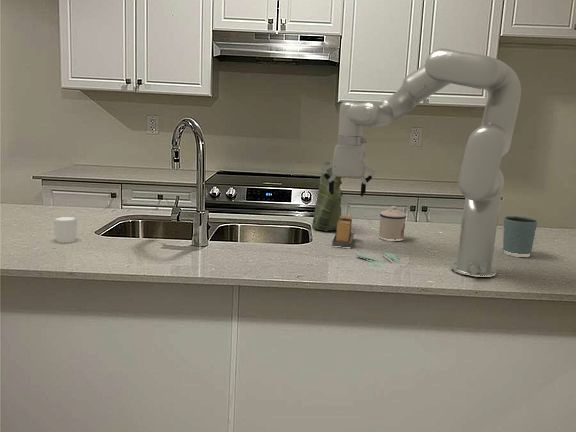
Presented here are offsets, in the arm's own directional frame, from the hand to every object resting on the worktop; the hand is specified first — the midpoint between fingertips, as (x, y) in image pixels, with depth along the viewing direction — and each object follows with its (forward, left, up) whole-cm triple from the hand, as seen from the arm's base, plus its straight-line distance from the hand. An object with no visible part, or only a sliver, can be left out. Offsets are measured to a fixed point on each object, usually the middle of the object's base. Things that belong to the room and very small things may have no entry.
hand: (346, 194), depth 181 cm
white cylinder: (-25, +84, -17) cm, 89 cm away
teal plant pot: (+11, -56, -17) cm, 60 cm away
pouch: (+22, +8, -17) cm, 29 cm away
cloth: (-12, -13, -18) cm, 25 cm away
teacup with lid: (+18, -15, -17) cm, 29 cm away
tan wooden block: (0, 0, -16) cm, 16 cm away
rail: (+4, 0, -17) cm, 18 cm away
